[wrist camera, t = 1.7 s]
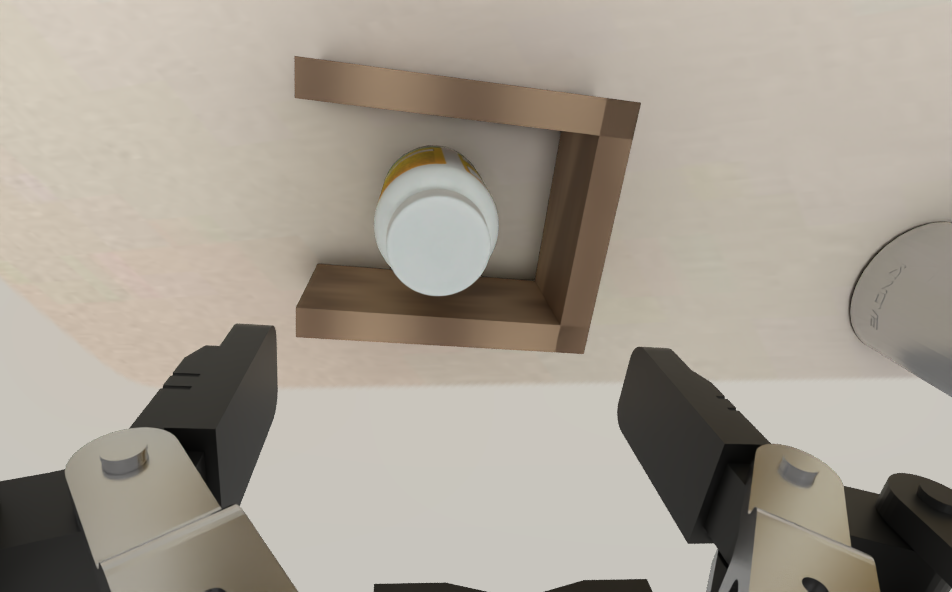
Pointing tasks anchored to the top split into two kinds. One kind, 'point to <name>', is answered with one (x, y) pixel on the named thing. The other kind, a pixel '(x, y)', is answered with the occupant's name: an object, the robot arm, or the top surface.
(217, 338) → the top surface
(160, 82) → the top surface
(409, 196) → the supplement bottle
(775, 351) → the top surface
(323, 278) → the walnut open box
